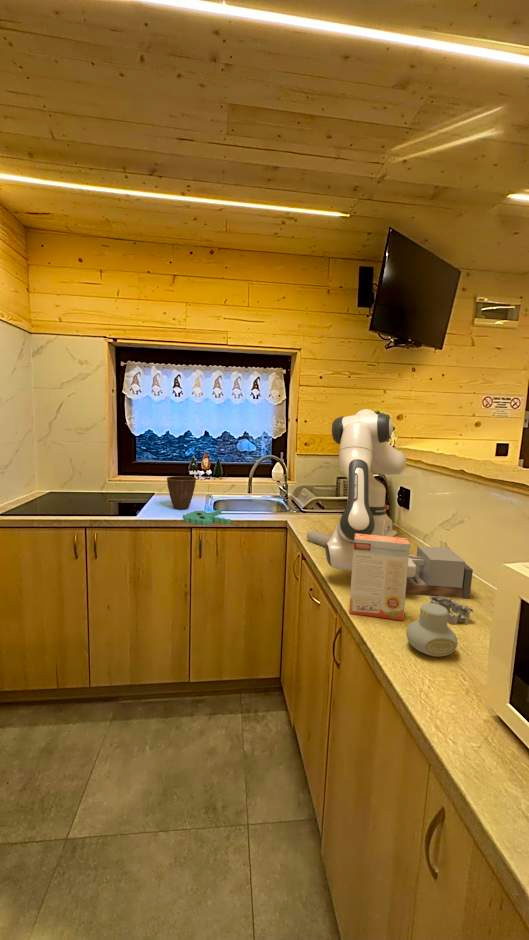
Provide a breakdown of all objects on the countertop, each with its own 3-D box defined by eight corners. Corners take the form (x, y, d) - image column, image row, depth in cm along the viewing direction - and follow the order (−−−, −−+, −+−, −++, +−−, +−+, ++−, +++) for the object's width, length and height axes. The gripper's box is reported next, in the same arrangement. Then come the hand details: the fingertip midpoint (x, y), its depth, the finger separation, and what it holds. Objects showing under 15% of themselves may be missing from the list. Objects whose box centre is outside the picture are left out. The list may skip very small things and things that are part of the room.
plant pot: (160, 507, 223) (160, 477, 220) (183, 503, 234) (183, 475, 232) (178, 513, 213) (179, 481, 211) (201, 508, 224) (202, 478, 222)
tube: (303, 532, 176) (350, 548, 157) (312, 526, 179) (359, 541, 160) (305, 543, 178) (352, 560, 159) (314, 537, 181) (361, 553, 162)
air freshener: (415, 660, 93) (419, 617, 92) (399, 639, 101) (403, 600, 100) (462, 659, 94) (467, 617, 93) (443, 639, 103) (447, 600, 101)
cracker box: (401, 611, 116) (408, 537, 113) (403, 621, 110) (410, 543, 108) (349, 604, 119) (354, 531, 116) (348, 613, 113) (354, 537, 111)
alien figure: (220, 514, 217) (180, 515, 209) (220, 509, 216) (180, 511, 209) (231, 524, 198) (188, 526, 191) (231, 520, 198) (188, 522, 191)
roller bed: (392, 593, 128) (395, 564, 127) (383, 577, 141) (385, 550, 140) (469, 598, 127) (472, 569, 126) (452, 581, 140) (455, 555, 138)
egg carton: (473, 625, 111) (475, 610, 111) (446, 625, 110) (448, 610, 110) (450, 606, 122) (451, 592, 121) (425, 606, 121) (427, 592, 120)
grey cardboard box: (427, 585, 127) (430, 559, 126) (415, 569, 140) (417, 545, 139) (462, 587, 126) (465, 561, 125) (446, 571, 139) (448, 547, 138)
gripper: (385, 559, 123) (434, 563, 122) (372, 538, 143) (414, 541, 142) (383, 580, 124) (432, 584, 123) (370, 557, 144) (412, 559, 143)
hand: (422, 561), depth 133 cm, fingers closed, pressing on grey cardboard box
